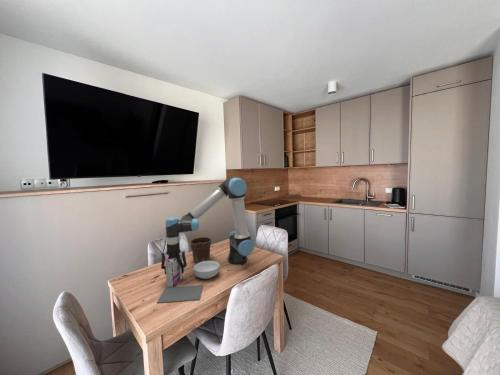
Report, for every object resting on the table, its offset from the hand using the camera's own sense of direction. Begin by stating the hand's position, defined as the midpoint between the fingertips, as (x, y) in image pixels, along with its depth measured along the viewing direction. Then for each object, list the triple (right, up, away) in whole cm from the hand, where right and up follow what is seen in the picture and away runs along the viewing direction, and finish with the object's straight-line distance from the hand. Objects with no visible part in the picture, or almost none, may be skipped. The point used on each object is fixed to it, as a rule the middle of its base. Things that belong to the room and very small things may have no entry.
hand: (174, 278), depth 127 cm
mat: (+8, -3, -12) cm, 15 cm away
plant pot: (+9, 0, +32) cm, 33 cm away
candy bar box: (0, -3, 0) cm, 3 cm away
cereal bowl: (+18, -2, +8) cm, 20 cm away
